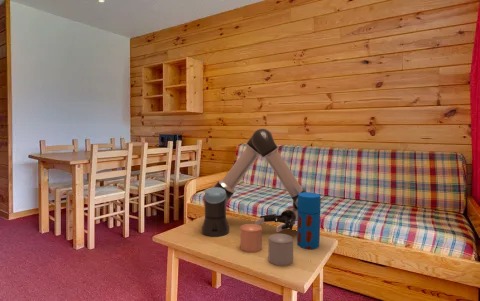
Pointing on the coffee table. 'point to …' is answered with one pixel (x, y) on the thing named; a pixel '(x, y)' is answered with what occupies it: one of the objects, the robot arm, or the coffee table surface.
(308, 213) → the thermos
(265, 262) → the coffee table surface
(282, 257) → the brown octagonal jar
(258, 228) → the octagonal lidded canister
